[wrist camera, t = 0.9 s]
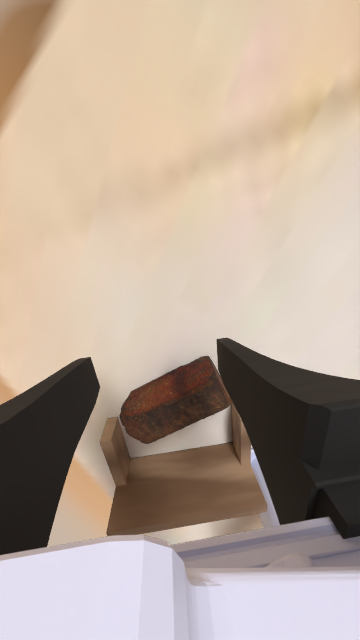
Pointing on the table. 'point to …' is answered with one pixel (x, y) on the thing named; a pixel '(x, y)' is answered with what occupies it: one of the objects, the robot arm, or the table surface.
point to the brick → (174, 401)
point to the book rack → (180, 483)
